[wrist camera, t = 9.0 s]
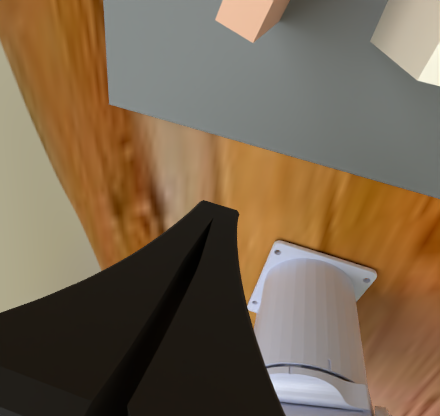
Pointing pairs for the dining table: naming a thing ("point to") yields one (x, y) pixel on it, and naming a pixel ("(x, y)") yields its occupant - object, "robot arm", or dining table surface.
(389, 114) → the mat
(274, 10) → the tile end
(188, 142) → the dining table surface
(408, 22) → the tile
